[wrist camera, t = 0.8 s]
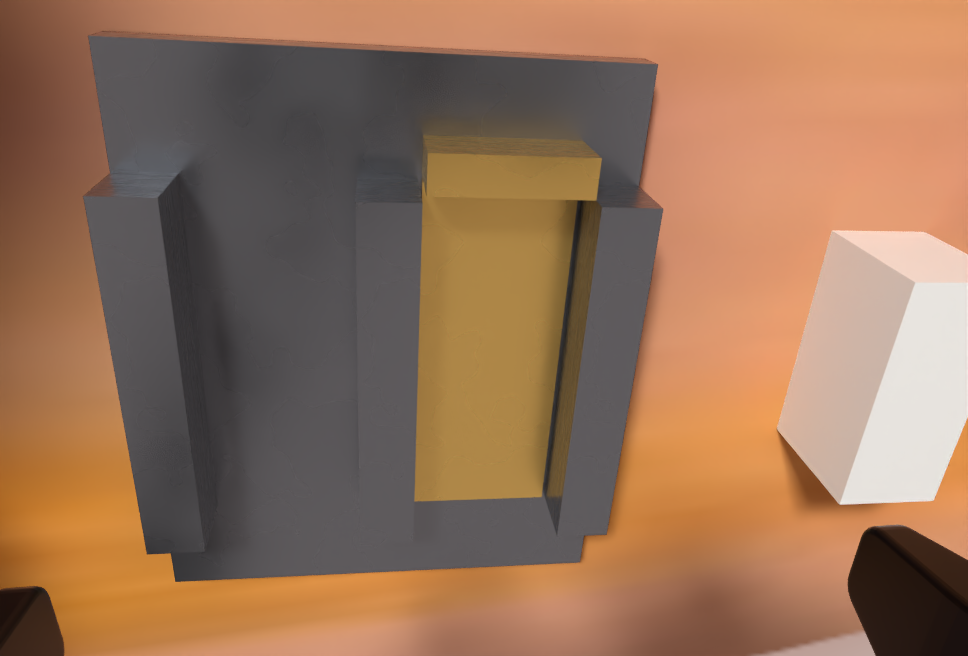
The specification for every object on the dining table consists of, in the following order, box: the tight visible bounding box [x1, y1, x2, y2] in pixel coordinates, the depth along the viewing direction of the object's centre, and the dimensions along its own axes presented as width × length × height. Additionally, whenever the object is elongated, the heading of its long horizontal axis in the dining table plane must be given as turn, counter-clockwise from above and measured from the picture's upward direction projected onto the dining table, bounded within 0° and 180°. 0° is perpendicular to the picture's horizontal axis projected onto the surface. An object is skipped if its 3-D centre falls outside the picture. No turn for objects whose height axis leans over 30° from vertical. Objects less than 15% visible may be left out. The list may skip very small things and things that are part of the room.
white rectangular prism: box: [777, 231, 968, 505], centre depth 22 cm, size 7×3×4 cm, turn 176°
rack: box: [83, 31, 663, 582], centre depth 20 cm, size 16×13×3 cm
